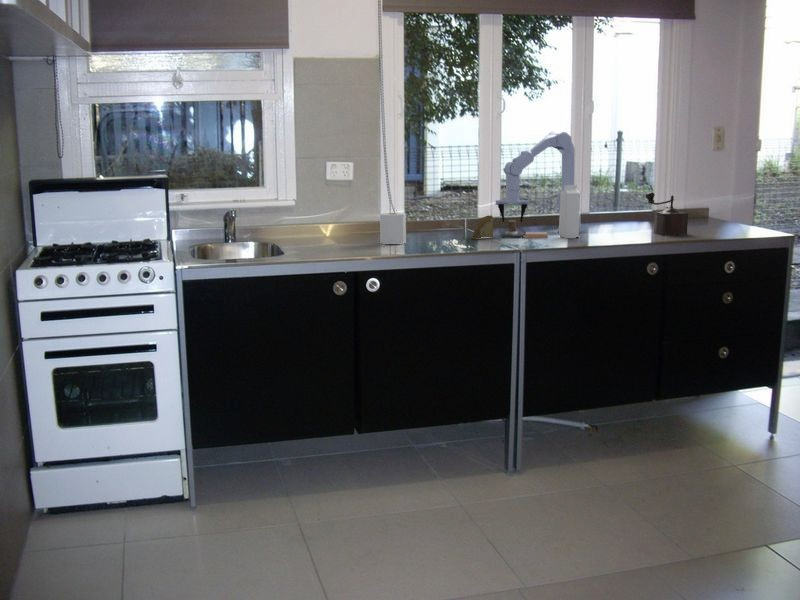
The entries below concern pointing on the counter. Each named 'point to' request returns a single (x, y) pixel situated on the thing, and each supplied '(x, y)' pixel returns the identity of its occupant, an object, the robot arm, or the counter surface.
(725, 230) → the counter surface
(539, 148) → the robot arm
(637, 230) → the counter surface
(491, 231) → the rock
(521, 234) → the pad
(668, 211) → the manual coffee grinder
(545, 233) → the tile
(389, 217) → the light grey block
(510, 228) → the two-tone stacked blocks
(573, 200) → the milk
